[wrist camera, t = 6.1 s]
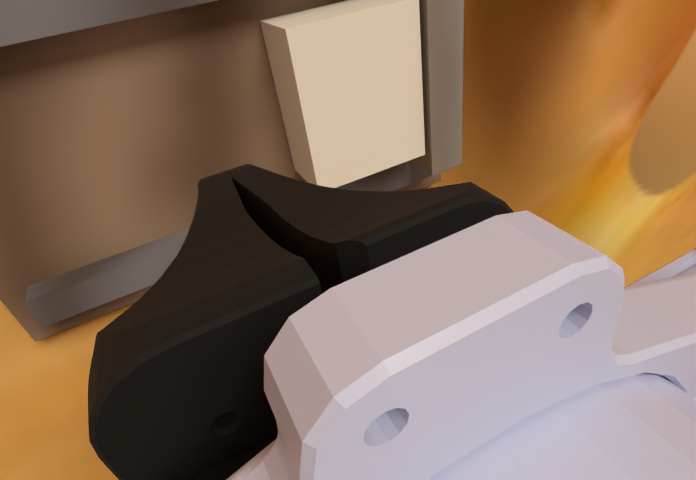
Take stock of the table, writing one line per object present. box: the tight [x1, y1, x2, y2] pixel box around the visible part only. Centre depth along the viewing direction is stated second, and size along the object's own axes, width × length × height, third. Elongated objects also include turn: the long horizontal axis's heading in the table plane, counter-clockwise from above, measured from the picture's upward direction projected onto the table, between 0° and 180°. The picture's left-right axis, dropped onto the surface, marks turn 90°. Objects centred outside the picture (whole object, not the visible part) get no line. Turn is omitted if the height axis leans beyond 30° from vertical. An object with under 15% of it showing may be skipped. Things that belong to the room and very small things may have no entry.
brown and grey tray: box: [0, 0, 464, 342], centre depth 16 cm, size 20×13×4 cm, turn 100°
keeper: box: [260, 0, 425, 188], centre depth 17 cm, size 5×6×3 cm
